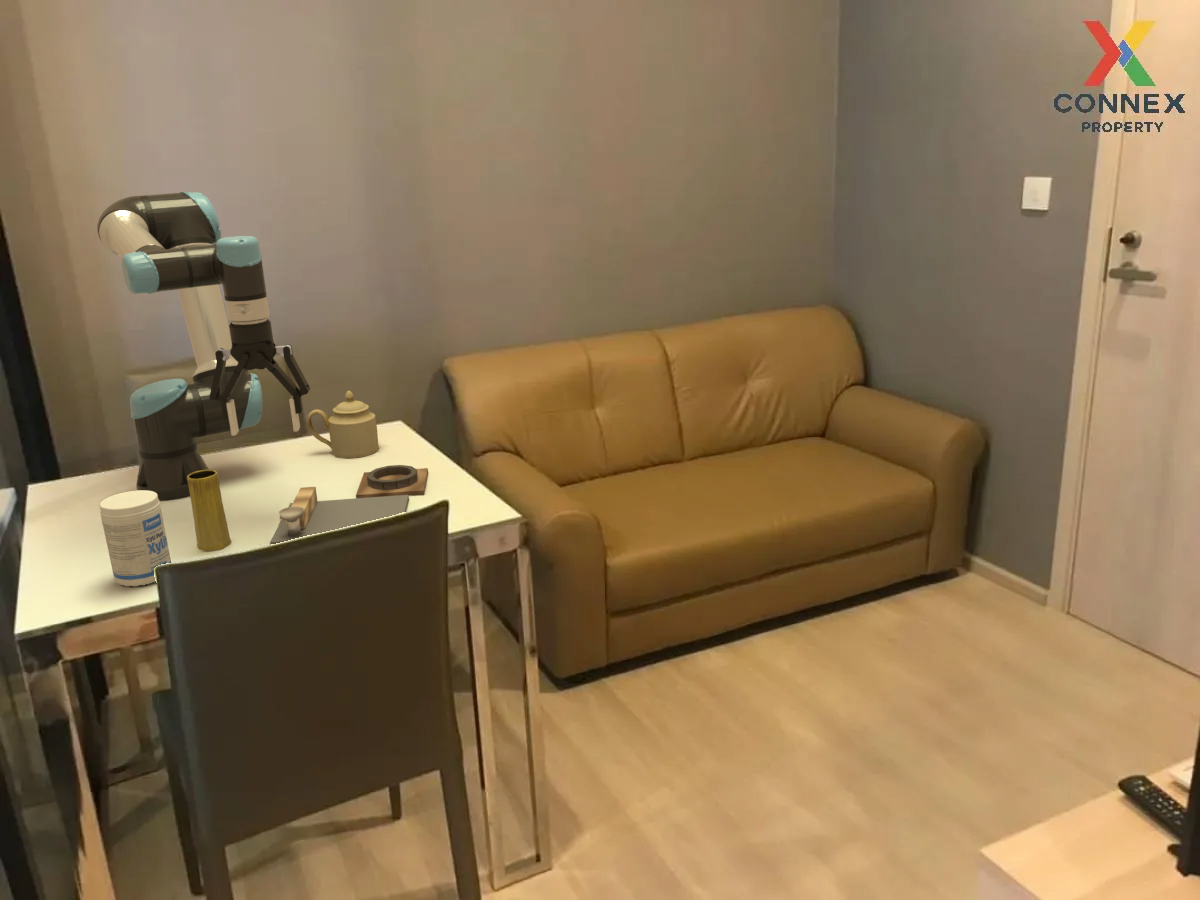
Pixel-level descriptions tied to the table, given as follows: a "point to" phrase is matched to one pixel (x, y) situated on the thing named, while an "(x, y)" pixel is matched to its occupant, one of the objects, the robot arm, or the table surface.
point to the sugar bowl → (349, 429)
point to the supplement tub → (134, 536)
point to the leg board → (344, 514)
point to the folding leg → (301, 506)
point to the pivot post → (293, 527)
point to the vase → (208, 511)
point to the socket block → (393, 482)
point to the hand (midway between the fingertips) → (266, 431)
